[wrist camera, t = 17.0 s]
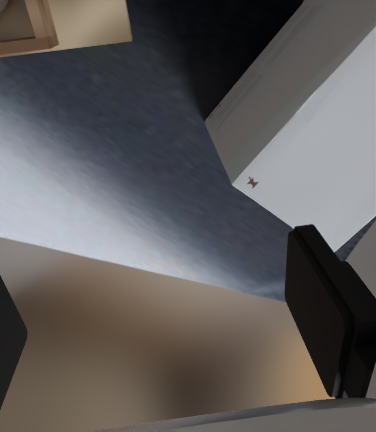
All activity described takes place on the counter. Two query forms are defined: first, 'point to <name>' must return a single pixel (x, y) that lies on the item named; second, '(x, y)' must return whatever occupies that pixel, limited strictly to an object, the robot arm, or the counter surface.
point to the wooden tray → (61, 25)
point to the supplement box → (308, 121)
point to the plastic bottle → (3, 4)
